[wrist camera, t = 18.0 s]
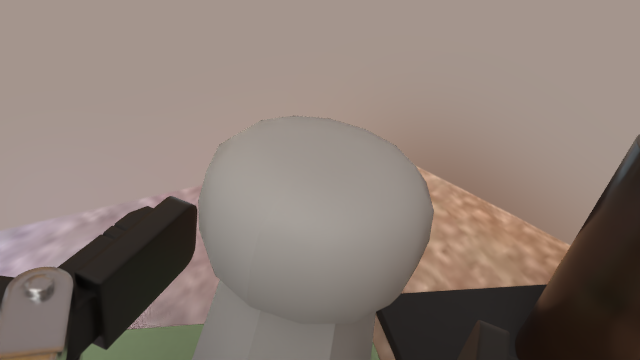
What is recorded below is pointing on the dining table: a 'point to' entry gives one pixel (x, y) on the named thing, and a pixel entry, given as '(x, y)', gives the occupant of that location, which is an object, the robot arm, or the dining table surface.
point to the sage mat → (157, 345)
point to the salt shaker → (307, 239)
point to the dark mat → (453, 319)
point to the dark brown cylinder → (594, 283)
